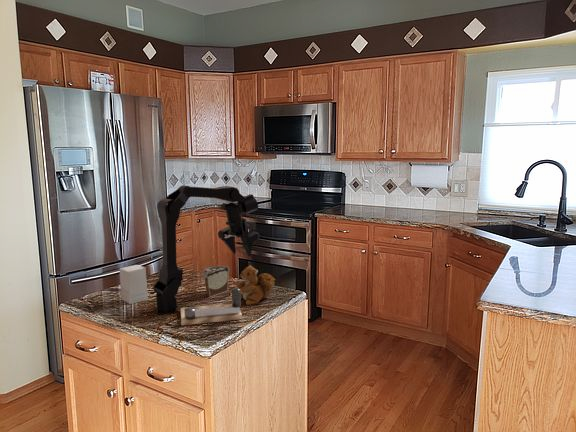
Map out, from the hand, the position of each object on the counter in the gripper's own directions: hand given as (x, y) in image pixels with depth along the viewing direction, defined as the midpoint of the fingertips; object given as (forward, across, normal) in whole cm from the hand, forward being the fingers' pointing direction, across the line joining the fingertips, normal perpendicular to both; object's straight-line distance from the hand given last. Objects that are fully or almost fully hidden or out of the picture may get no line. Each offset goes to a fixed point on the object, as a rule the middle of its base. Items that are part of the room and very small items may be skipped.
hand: (242, 254), depth 178 cm
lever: (+8, -15, +29) cm, 33 cm away
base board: (+10, -12, +27) cm, 31 cm away
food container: (+13, +7, +12) cm, 19 cm away
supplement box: (+8, +23, +37) cm, 44 cm away
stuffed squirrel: (+14, -11, +6) cm, 19 cm away
